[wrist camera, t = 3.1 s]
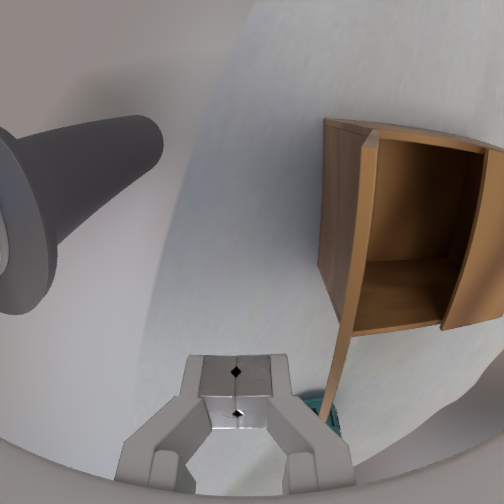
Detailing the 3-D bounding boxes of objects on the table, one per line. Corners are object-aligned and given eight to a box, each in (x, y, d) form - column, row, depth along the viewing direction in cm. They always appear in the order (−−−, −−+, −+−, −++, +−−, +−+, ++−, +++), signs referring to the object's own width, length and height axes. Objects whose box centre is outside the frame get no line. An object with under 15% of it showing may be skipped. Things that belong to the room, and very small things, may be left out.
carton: (317, 265, 27) (347, 346, 18) (323, 118, 21) (377, 129, 12) (447, 258, 27) (502, 317, 18) (468, 137, 21) (547, 165, 12)
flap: (349, 345, 18) (343, 343, 18) (380, 130, 12) (371, 129, 12) (319, 442, 12) (311, 440, 12) (378, 148, 6) (360, 146, 6)
